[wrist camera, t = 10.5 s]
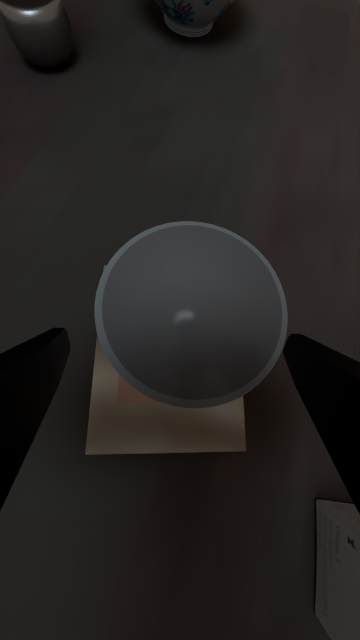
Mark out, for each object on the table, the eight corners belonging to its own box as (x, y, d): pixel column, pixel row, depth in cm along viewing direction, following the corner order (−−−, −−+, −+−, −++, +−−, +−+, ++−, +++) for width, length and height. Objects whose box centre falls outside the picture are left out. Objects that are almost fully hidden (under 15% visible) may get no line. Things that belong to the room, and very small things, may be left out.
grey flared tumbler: (212, 357, 19) (327, 320, 6) (165, 398, 17) (182, 460, 5) (174, 312, 19) (204, 190, 7) (126, 348, 18) (51, 286, 5)
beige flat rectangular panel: (241, 447, 18) (246, 451, 17) (89, 450, 17) (84, 455, 16) (232, 276, 22) (236, 271, 21) (106, 270, 21) (103, 264, 20)
